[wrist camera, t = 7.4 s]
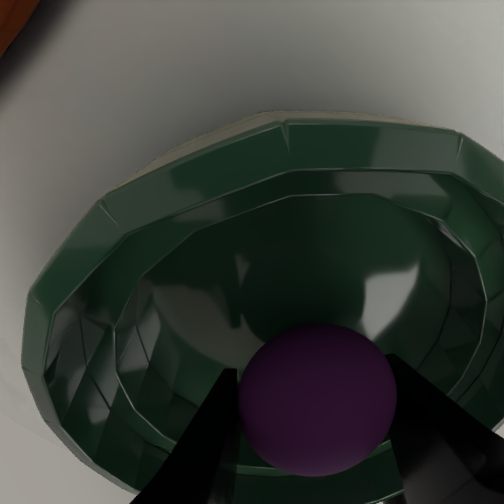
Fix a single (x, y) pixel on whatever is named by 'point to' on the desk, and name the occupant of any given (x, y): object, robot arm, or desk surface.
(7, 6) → the donut
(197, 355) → the bowl
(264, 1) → the desk surface
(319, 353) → the ball
